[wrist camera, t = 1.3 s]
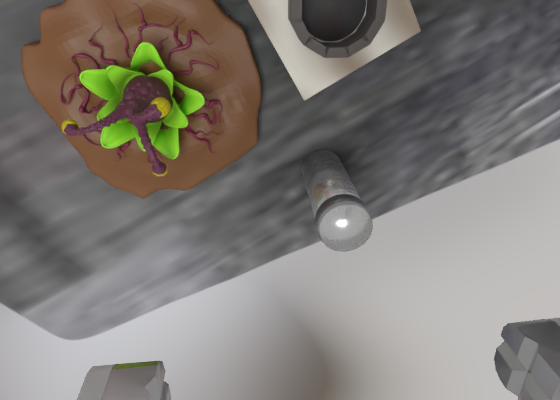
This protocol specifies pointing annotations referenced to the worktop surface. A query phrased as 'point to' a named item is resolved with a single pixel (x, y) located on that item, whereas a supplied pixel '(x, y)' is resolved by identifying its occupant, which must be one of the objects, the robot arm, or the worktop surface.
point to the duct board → (332, 35)
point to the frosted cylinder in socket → (335, 202)
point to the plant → (147, 88)
